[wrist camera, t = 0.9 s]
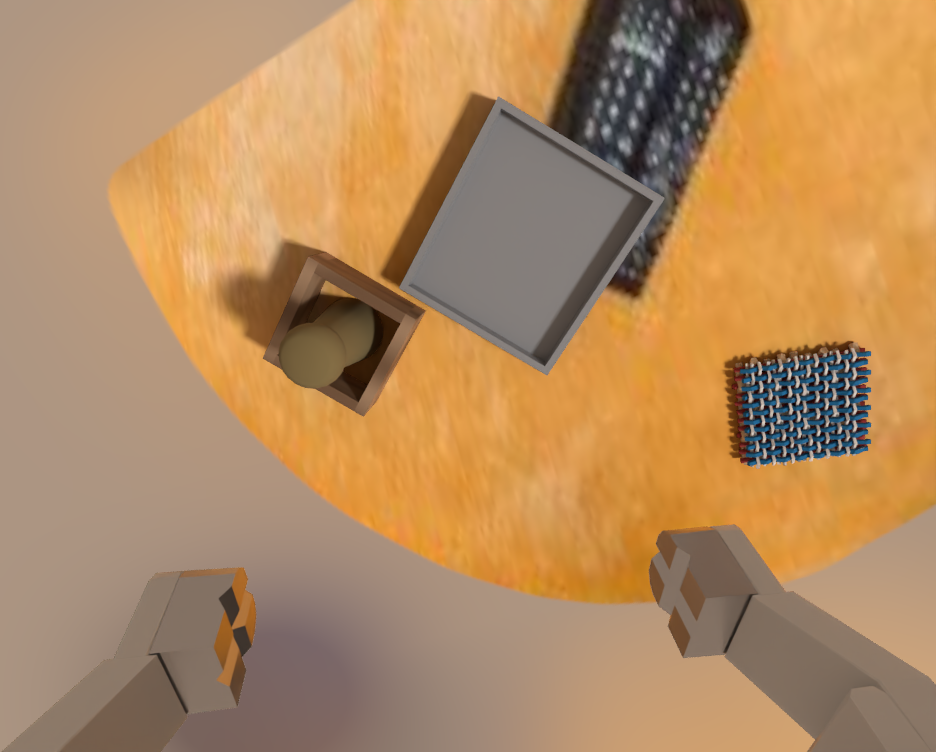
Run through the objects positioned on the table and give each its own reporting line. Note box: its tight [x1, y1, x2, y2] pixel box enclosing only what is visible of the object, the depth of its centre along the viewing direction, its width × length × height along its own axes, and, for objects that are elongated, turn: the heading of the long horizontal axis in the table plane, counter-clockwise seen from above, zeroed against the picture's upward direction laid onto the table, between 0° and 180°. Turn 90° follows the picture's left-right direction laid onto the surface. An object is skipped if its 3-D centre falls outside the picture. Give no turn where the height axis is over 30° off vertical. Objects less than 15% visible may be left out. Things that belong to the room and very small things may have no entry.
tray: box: [399, 97, 665, 375], centre depth 46 cm, size 17×15×2 cm
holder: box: [263, 252, 425, 417], centre depth 50 cm, size 10×10×4 cm
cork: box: [278, 298, 383, 389], centre depth 46 cm, size 6×6×11 cm
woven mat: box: [732, 343, 871, 469], centre depth 48 cm, size 10×11×2 cm
